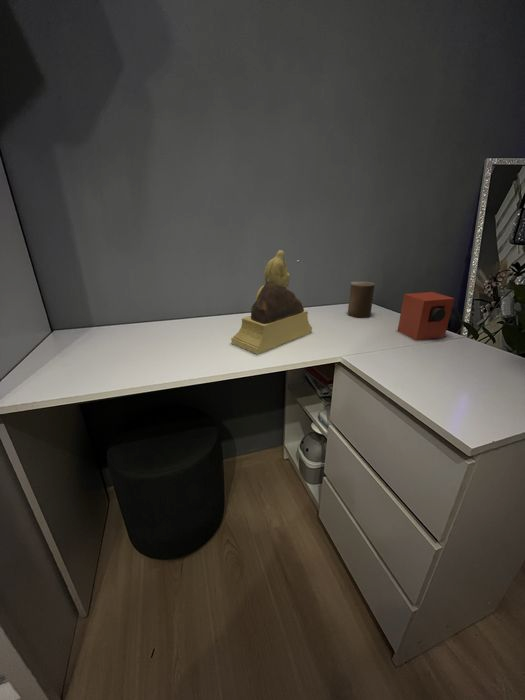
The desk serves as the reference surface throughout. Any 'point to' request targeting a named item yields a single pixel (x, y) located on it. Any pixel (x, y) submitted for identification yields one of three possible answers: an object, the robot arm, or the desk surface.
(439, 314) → the button
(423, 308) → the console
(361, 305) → the pillar candle
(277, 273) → the yellow and brown statue
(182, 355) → the desk surface
